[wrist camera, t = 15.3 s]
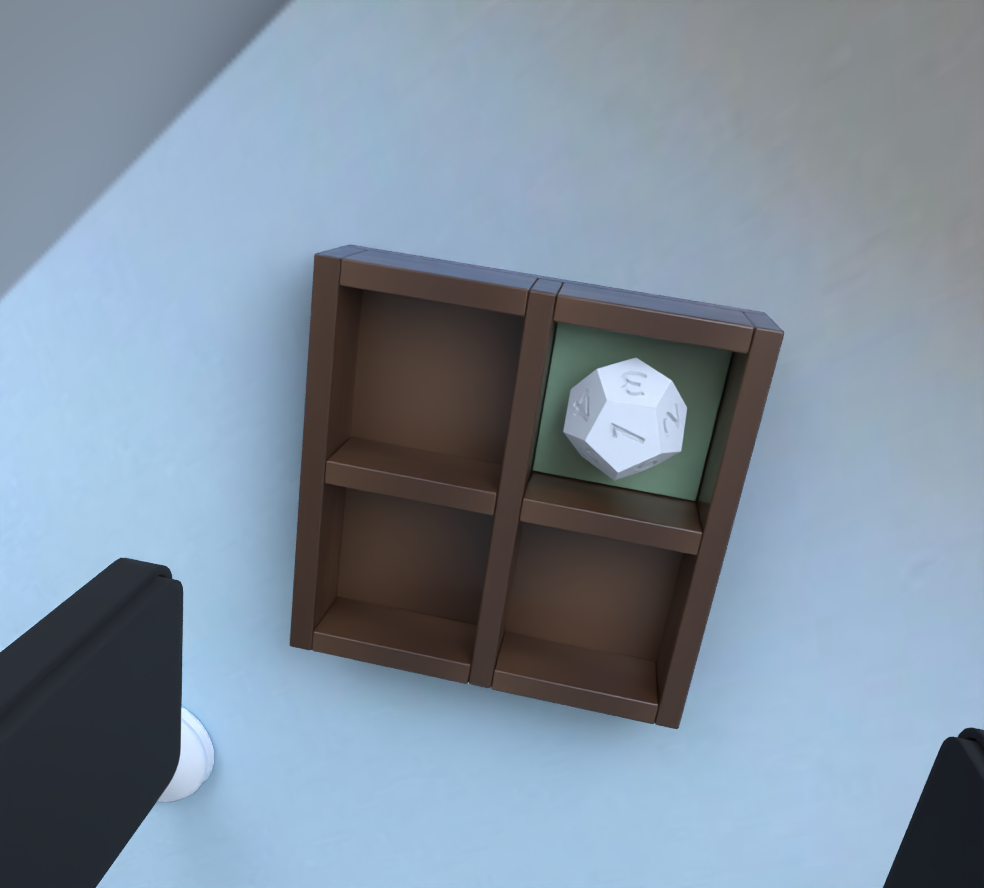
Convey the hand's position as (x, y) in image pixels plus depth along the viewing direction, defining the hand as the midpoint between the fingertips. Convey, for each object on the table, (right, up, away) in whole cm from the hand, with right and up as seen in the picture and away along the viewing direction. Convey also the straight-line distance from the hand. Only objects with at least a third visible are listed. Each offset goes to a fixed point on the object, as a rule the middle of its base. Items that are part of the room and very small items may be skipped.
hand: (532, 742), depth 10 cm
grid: (0, +3, +18) cm, 18 cm away
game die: (+4, +5, +16) cm, 17 cm away
